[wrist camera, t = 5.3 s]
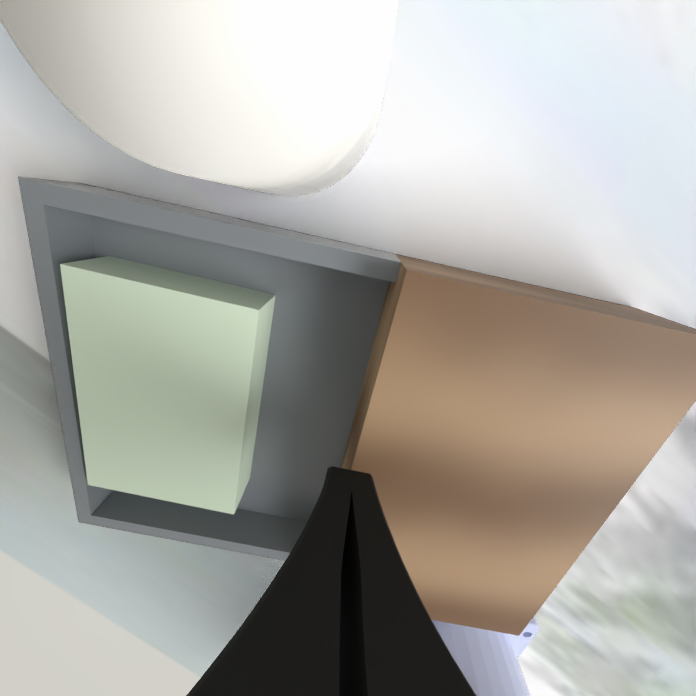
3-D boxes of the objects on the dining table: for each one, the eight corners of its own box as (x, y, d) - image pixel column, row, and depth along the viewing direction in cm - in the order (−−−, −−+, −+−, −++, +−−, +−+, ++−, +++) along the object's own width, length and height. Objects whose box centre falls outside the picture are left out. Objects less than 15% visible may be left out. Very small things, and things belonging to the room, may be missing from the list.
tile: (87, 484, 13) (122, 451, 15) (234, 514, 13) (250, 477, 15) (59, 264, 10) (109, 255, 11) (258, 310, 10) (275, 294, 12)
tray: (324, 524, 17) (319, 567, 15) (114, 484, 16) (78, 522, 14) (395, 253, 11) (401, 262, 9) (82, 183, 11) (18, 176, 9)
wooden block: (489, 556, 17) (518, 635, 14) (324, 524, 17) (315, 598, 14) (635, 307, 12) (738, 343, 8) (395, 253, 11) (406, 269, 8)
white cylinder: (360, 214, 11) (355, 213, 5) (185, 175, 11) (-6, 133, 5) (408, -23, 9) (485, -448, 3) (187, -78, 8) (-155, -639, 3)
